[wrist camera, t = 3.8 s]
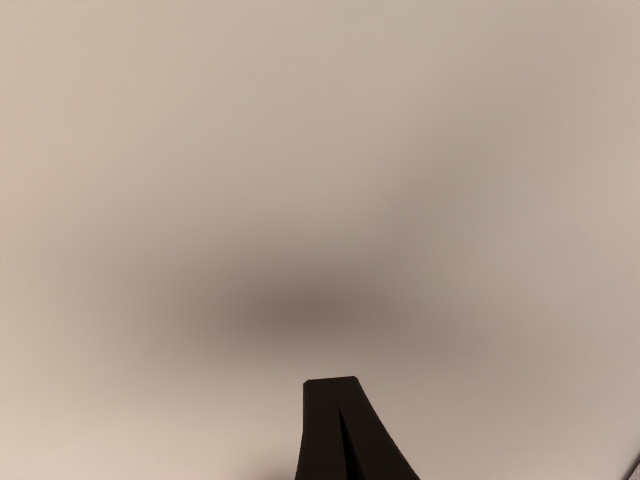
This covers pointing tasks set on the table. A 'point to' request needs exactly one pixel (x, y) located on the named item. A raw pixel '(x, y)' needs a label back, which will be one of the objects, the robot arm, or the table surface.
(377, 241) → the table surface
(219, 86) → the table surface
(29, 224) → the table surface
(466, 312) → the table surface
